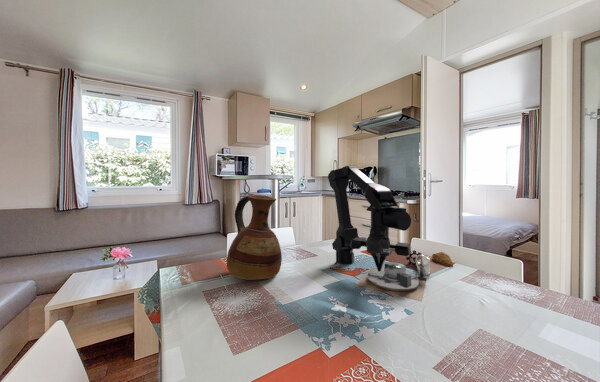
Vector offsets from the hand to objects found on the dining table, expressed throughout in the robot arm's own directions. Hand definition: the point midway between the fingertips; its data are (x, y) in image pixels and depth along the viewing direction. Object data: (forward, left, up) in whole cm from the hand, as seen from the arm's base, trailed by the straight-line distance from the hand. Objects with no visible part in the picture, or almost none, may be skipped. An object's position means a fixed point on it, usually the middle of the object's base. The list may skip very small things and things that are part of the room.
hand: (379, 271), depth 81 cm
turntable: (+4, 0, -3) cm, 5 cm away
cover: (+5, -1, -1) cm, 5 cm away
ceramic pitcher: (-41, -17, -4) cm, 44 cm away
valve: (+11, +17, -4) cm, 20 cm away
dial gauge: (+12, +8, -3) cm, 15 cm away
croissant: (+18, +31, -4) cm, 36 cm away
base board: (+4, 0, -4) cm, 6 cm away
